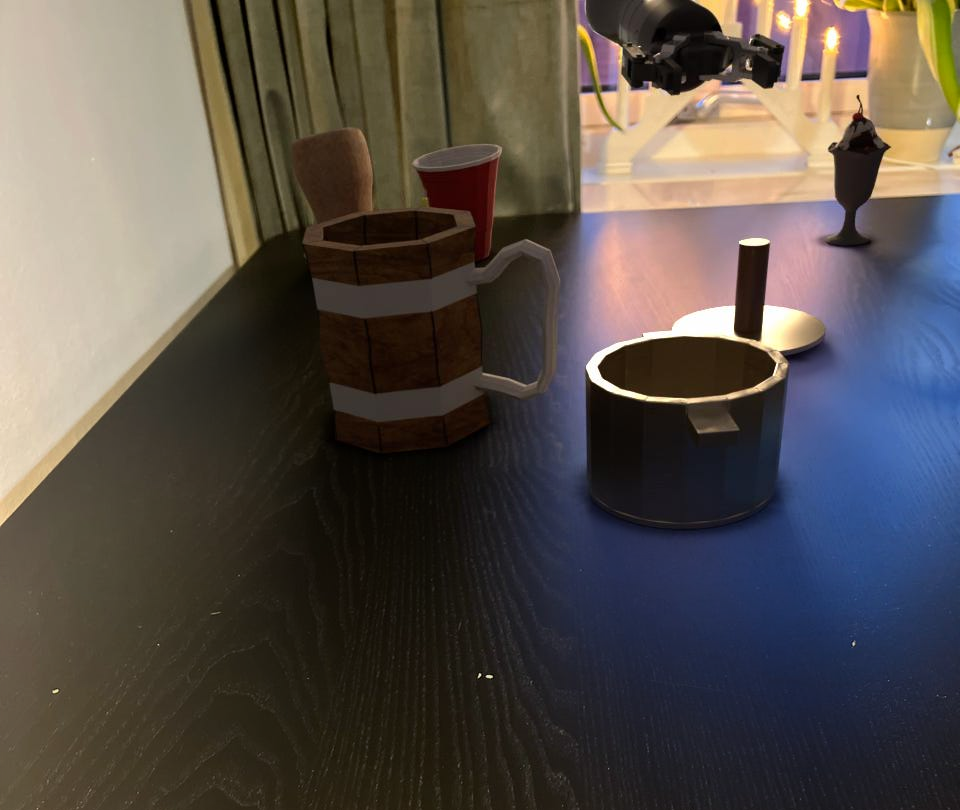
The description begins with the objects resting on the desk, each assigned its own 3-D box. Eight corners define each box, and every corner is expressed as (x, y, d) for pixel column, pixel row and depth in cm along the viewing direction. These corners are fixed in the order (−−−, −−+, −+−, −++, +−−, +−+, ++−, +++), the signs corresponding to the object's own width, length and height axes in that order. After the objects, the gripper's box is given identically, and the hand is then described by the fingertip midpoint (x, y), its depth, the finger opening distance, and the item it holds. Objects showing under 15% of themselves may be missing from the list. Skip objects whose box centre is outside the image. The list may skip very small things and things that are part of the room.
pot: (737, 426, 75) (746, 314, 70) (813, 541, 60) (831, 409, 55) (573, 440, 75) (571, 329, 70) (608, 558, 60) (608, 429, 55)
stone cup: (329, 243, 134) (310, 120, 126) (411, 242, 131) (397, 116, 122) (281, 274, 123) (256, 141, 114) (369, 274, 119) (350, 137, 111)
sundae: (838, 230, 119) (855, 90, 111) (888, 238, 115) (910, 93, 106) (805, 242, 116) (820, 99, 108) (855, 250, 112) (876, 101, 103)
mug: (302, 448, 78) (264, 250, 69) (367, 385, 88) (342, 207, 79) (542, 464, 72) (533, 251, 63) (582, 395, 82) (579, 204, 74)
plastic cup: (408, 257, 125) (396, 153, 118) (483, 241, 128) (476, 140, 122) (445, 274, 117) (434, 164, 110) (524, 257, 120) (518, 149, 113)
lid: (797, 311, 96) (807, 217, 91) (846, 357, 85) (860, 254, 80) (659, 323, 96) (661, 231, 91) (689, 371, 85) (694, 269, 80)
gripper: (605, 1, 95) (649, 35, 83) (747, -9, 96) (811, 24, 84) (601, 87, 100) (642, 131, 88) (736, 77, 101) (795, 120, 89)
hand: (725, 79), depth 86 cm, fingers open, 8 cm apart
